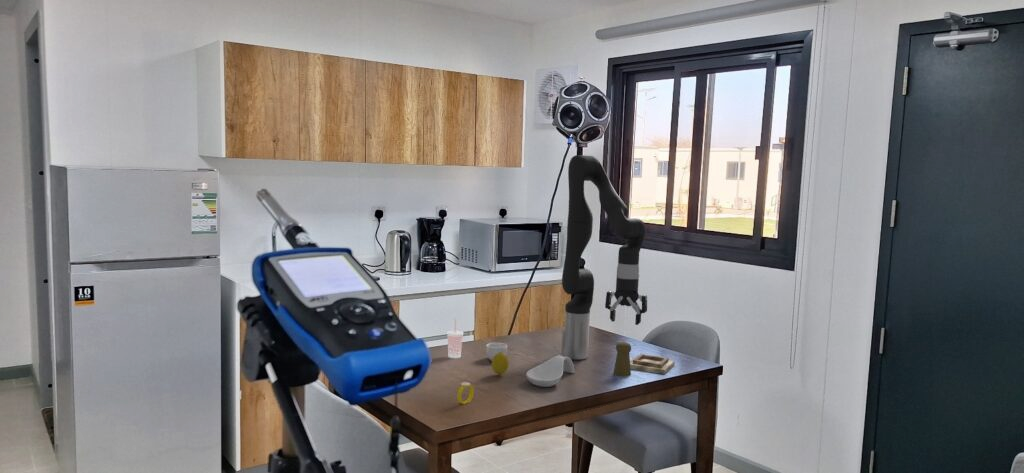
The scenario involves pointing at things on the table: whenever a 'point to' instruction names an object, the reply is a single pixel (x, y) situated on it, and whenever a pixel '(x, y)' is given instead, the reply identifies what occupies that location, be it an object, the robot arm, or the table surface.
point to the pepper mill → (622, 360)
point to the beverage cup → (454, 343)
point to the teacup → (495, 349)
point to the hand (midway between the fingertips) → (625, 322)
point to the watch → (463, 385)
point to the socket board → (651, 363)
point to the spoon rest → (550, 371)
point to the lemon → (500, 363)
